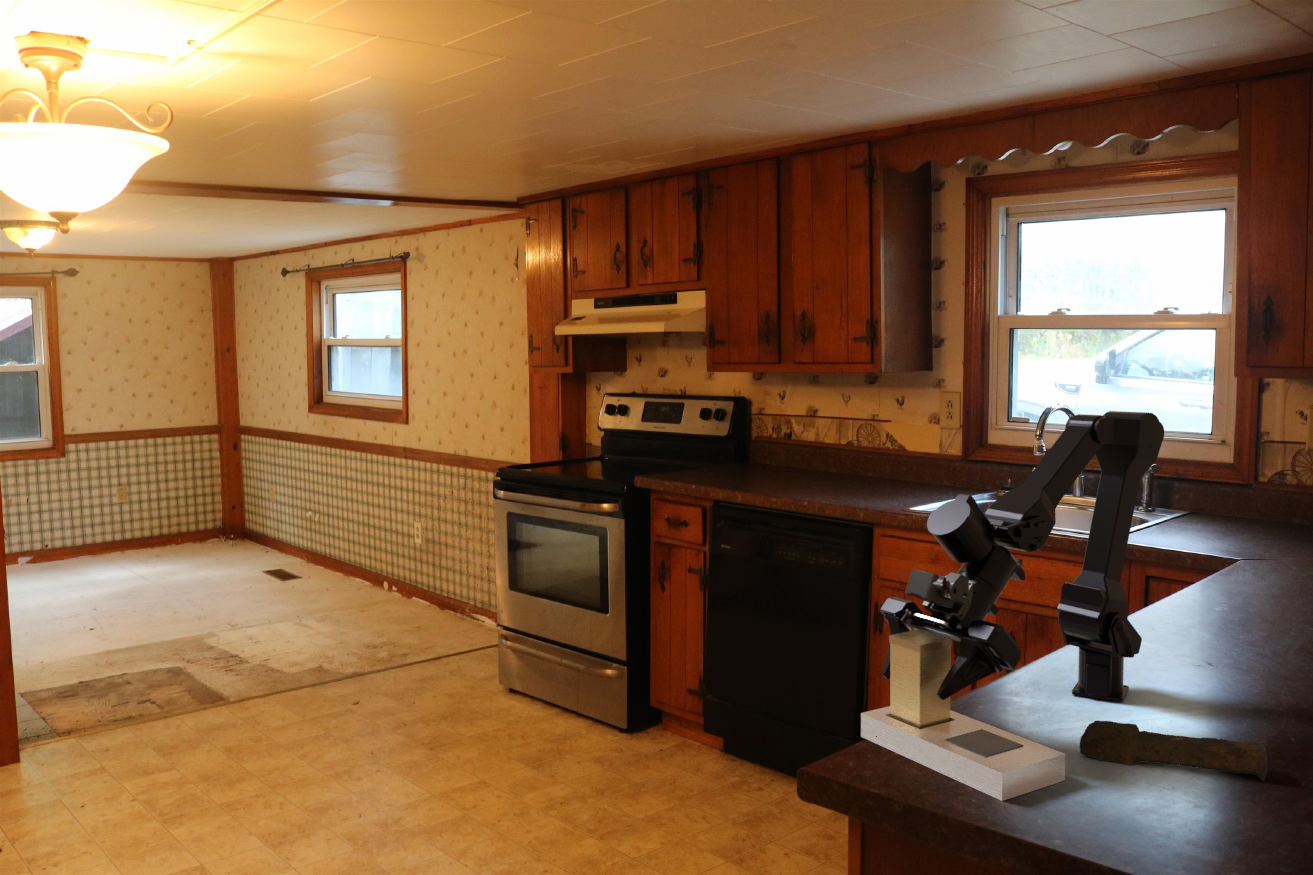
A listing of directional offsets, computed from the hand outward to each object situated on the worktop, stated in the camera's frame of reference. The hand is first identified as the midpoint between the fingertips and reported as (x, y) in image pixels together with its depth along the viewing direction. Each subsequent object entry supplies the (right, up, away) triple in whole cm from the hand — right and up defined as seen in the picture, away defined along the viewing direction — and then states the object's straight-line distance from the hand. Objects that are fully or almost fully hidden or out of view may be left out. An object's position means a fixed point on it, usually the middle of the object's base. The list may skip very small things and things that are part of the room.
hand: (911, 686), depth 124 cm
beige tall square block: (+1, -7, +1) cm, 7 cm away
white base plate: (+4, -7, -4) cm, 9 cm away
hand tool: (+28, -8, -8) cm, 30 cm away
